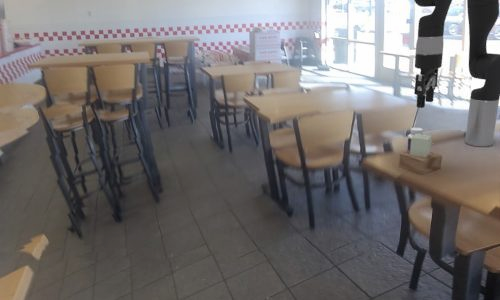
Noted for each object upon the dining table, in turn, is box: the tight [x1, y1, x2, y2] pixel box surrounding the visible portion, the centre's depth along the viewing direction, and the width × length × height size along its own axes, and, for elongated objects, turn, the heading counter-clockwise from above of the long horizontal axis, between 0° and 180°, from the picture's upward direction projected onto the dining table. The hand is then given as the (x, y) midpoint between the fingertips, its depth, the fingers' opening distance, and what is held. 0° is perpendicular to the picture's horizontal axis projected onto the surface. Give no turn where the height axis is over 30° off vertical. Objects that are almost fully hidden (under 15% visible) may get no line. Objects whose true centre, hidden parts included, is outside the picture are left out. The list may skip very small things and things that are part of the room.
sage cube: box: [410, 133, 433, 158], centre depth 132 cm, size 5×5×6 cm
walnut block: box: [399, 150, 443, 176], centre depth 133 cm, size 9×9×5 cm
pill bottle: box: [406, 127, 424, 152], centre depth 144 cm, size 5×5×10 cm
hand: (424, 104), depth 127 cm, fingers open, 8 cm apart
